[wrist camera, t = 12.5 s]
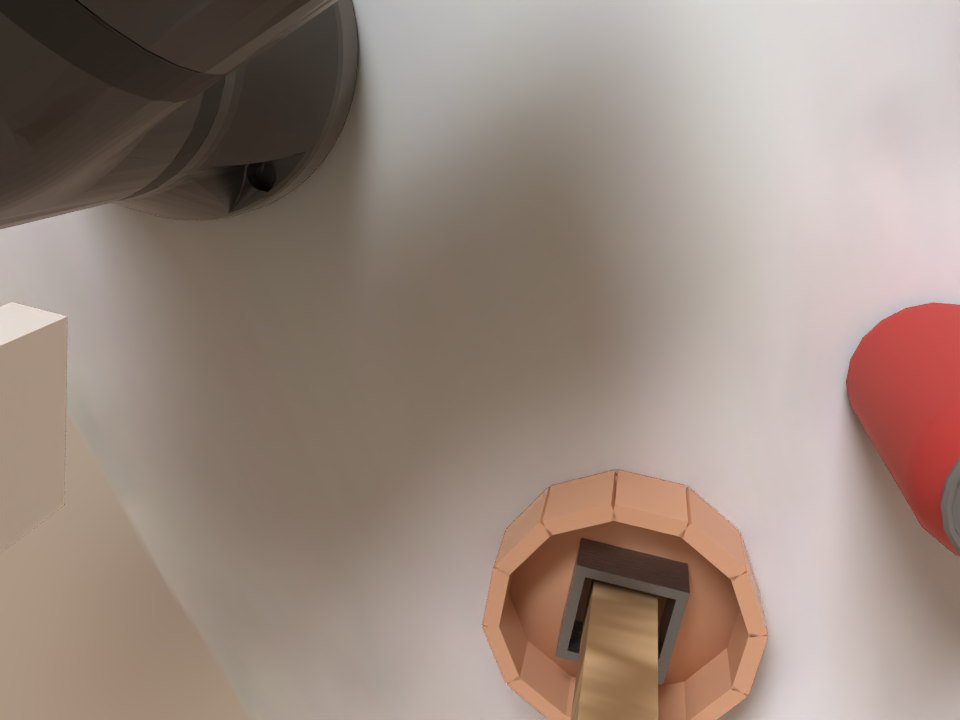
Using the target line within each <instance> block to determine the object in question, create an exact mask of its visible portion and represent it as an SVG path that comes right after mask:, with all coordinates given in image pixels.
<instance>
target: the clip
mask: <svg viewBox="0 0 960 720" xmlns="http://www.w3.org/2000/svg"><path fill="white" fill-rule="evenodd" d="M585 577H587V578H591V579H595V580H599V581H603V582H607V583H611V584H615V585H619V586H623V587H627V588H631V589H635V590H639V591H643V592H647V593H651V594H655V595H659V596H663V597H667V600H666V603H665V607H664V611H663V614H662V618H661V621H660V625H659V628H658V684H662V685H663V683H664V680H665V677H666V673H667V670H668V666H669V663H670V660H671V656H672V653H673V649H674V646H675V643H676V639H677V636H678V632H679V629H680V626H681V622H682V619H683V615H684V612H685V609H686V605H687V602H688V598H689V595H690V586H689V572H688V564H687V563H683V562H679V561H675V560H671V559H667V558H663V557H659V556H655V555H651V554H647V553H642V552H638V551H634V550H630V549H626V548H622V547H618V546H614V545H610V544H606V543H602V542H598V541H594V540H589V539H585V538H581V540H580V544H579V548H578V552H577V557H576V561H575V565H574V570H573V574H572V578H571V582H570V587H569V591H568V595H567V599H566V604H565V608H564V612H563V616H562V621H561V625H560V631H559V637H558V642H557V648H556V654H555V656H556V657H559V658H563V659H567V660H571V661H575V662H578V658H579V650H580V643H581V635H582V628H583V622H581V621H577V620H575V617H576V613H577V609H578V604H579V600H580V596H581V592H582V588H583V584H584V580H585Z"/></svg>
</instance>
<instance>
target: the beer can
mask: <svg viewBox="0 0 960 720" xmlns="http://www.w3.org/2000/svg"><path fill="white" fill-rule="evenodd" d="M846 384H847V390H848V396H849V402H850V405H851V407H852V409H853V410H854V412H855V414H856V416H857V417H858V419H859V421H860V422H861V424H862V426H863V427H864V429H865V431H866V433H867V434H868V436H869V438H870V439H871V441H872V443H873V444H874V446H875V448H876V450H877V451H878V453H879V455H880V456H881V458H882V460H883V461H884V463H885V465H886V467H887V468H888V470H889V472H890V473H891V475H892V477H893V478H894V480H895V482H896V483H897V485H898V487H899V489H900V490H901V492H902V494H903V495H904V497H905V499H906V500H907V502H908V504H909V506H910V507H911V509H912V511H913V512H914V514H915V516H916V517H917V519H918V521H919V523H920V524H921V526H922V527H923V528H924V529H925V530H926V531H927V532H929V533H930V534H931V535H932V536H933V537H935V538H936V539H937V540H938V541H939V542H941V543H942V544H943V545H944V546H945V547H947V548H948V549H949V550H950V551H952V552H953V553H954V554H956V555H958V556H960V305H955V304H943V303H929V304H924V305H919V306H914V307H909V308H905V309H903V310H901V311H899V312H897V313H895V314H893V315H892V316H890V317H888V318H886V319H884V320H882V321H881V322H880V323H878V324H877V325H876V326H875V327H874V328H873V329H872V330H871V331H870V332H869V333H868V334H867V335H866V336H864V337H863V338H862V340H861V342H860V344H859V345H858V347H857V349H856V351H855V352H854V354H853V356H852V358H851V359H850V365H849V370H848V375H847V380H846Z"/></svg>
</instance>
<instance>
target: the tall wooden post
mask: <svg viewBox="0 0 960 720" xmlns="http://www.w3.org/2000/svg"><path fill="white" fill-rule="evenodd" d="M570 720H658V595H655V594H651V593H647V592H643V591H639V590H635V589H631V588H627V587H623V586H619V585H615V584H611V583H607V582H603V581H599V580H595V579H592V583H591V587H590V591H589V596H588V600H587V604H586V608H585V612H584V620H583V628H582V635H581V643H580V650H579V658H578V666H577V673H576V681H575V689H574V696H573V704H572V712H571V719H570Z"/></svg>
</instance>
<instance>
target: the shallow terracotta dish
mask: <svg viewBox="0 0 960 720" xmlns="http://www.w3.org/2000/svg"><path fill="white" fill-rule="evenodd" d="M581 538H585V539H589V540H594V541H598V542H602V543H606V544H610V545H614V546H618V547H622V548H626V549H630V550H634V551H638V552H642V553H647V554H651V555H655V556H659V557H663V558H667V559H671V560H675V561H679V562H683V563H687V564H688V572H689V586H690V595H689V598H688V602H687V605H686V609H685V612H684V615H683V619H682V622H681V626H680V629H679V632H678V636H677V639H676V643H675V646H674V649H673V653H672V656H671V660H670V663H669V666H668V670H667V673H666V677H665V680H664V683H663V685H662V684H658V720H717V719H718V718H720V717H721V716H722V715H724V714H725V713H726V712H728V711H729V710H730V709H732V708H733V707H734V706H736V705H737V704H738V703H740V702H741V701H742V700H744V699H745V698H746V697H747V695H746V694H748V695H749V692H750V689H751V686H752V684H753V681H754V678H755V675H756V672H757V669H758V666H759V663H760V660H761V657H762V654H763V651H764V648H765V645H766V642H767V639H768V632H767V627H766V622H765V617H764V612H763V607H762V602H761V597H760V593H759V589H758V585H757V582H756V579H755V576H754V573H753V570H752V567H751V563H750V560H749V557H748V554H747V551H746V548H745V545H744V541H743V538H742V535H741V533H739V530H738V529H737V528H736V527H735V526H733V525H732V524H731V523H730V522H729V521H728V520H726V519H725V518H724V517H723V516H722V515H721V514H719V513H718V512H717V511H716V510H715V509H714V508H712V507H711V506H710V505H709V504H708V503H707V502H705V501H704V500H703V499H702V498H701V497H700V496H698V495H697V494H696V493H695V492H694V491H693V490H691V489H690V488H689V487H688V488H687V489H686V487H685V485H681V484H677V483H673V482H668V481H664V480H660V479H656V478H651V477H647V476H643V475H638V474H634V473H630V472H626V471H621V470H618V473H617V474H616V472H615V470H612V471H608V472H604V473H600V474H596V475H592V476H588V477H584V478H580V479H576V480H572V481H568V482H564V483H560V484H556V485H552V486H551V489H550V488H549V487H548V488H547V489H546V490H545V491H544V492H543V493H542V494H541V495H540V496H539V497H538V498H537V499H536V500H535V501H534V502H533V503H532V504H531V505H530V506H529V507H528V508H527V509H526V510H525V511H524V512H523V513H522V514H521V515H520V516H519V517H518V518H517V519H516V520H515V521H514V522H513V523H512V524H511V525H510V526H509V527H508V528H507V530H506V531H505V534H504V537H503V540H502V543H501V546H500V549H499V552H498V555H497V558H496V561H495V564H494V567H493V572H492V577H491V582H490V587H489V592H488V597H487V603H486V608H485V613H484V618H483V623H482V625H483V630H484V633H485V635H486V637H487V640H488V642H489V645H490V647H491V650H492V652H493V654H494V657H495V659H496V662H497V664H498V666H499V669H500V671H501V674H502V676H503V678H504V681H505V683H506V682H508V684H507V686H509V687H510V688H511V689H512V690H514V691H515V692H516V693H517V694H518V695H520V696H521V697H522V698H523V699H524V700H526V701H527V702H528V703H529V704H530V705H532V706H533V707H534V708H535V709H537V710H538V711H539V712H540V713H541V714H543V715H544V716H545V717H546V718H547V719H549V720H570V719H571V712H572V704H573V696H574V689H575V681H576V673H577V666H578V662H575V661H571V660H567V659H563V658H559V657H556V656H555V654H556V648H557V642H558V637H559V631H560V625H561V621H562V616H563V612H564V608H565V604H566V599H567V595H568V591H569V587H570V582H571V578H572V574H573V570H574V565H575V561H576V557H577V552H578V548H579V544H580V540H581ZM591 583H592V579H591V578H587V577H585V580H584V584H583V588H582V592H581V596H580V600H579V604H578V609H577V613H576V617H575V620H577V621H581V622H583V620H584V612H585V608H586V604H587V600H588V596H589V591H590V587H591ZM666 600H667V597H663V596H659V595H658V628H659V625H660V621H661V618H662V614H663V611H664V607H665V603H666Z"/></svg>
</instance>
